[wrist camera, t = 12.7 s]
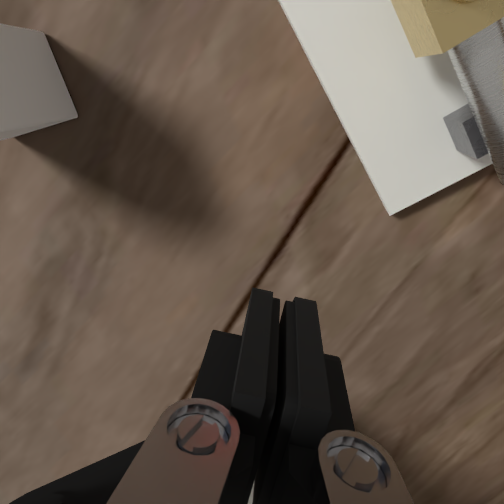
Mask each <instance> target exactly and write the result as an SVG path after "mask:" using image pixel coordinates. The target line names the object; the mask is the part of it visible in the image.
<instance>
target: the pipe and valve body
mask: <svg viewBox="0 0 504 504" xmlns="http://www.w3.org/2000/svg"><path fill="white" fill-rule="evenodd" d="M391 2H392V5H393V7H394V9H395V11H396V14H397V16H398V18H399V21H400V23H401V25H402V28H403V30H404V32H405V35H406V37H407V39H408V42H409V44H410V46H411V49H412V51H413V53H414V56H415V58H417V57H424V56H430V55H437V54H443V53H445V52H446V51H447V52H448V54H449V57H450V59H451V62H452V64H453V67H454V69H455V72H456V74H457V77H458V79H459V81H460V84H461V86H462V89H463V91H464V94H465V96H466V99H467V101H468V104H466V105H465V106H463V107H461V108H459V109H457V110H456V111H454V112H452V113H450V114H449V115H447V116H445V117H443V119H444V122H445V124H446V126H447V129H448V131H449V133H450V136H451V138H452V140H453V143H454V145H455V147H456V150H457V151H460V152H462V153H464V154H467V155H469V156H471V157H473V158H476V159H479V158H481V157H482V156H484V155H486V154H488V153H489V156H490V158H491V161H492V163H493V165H494V168H495V170H496V173H497V175H498V178H499V180H500V183H501V184H502V185H504V24H503V21H502V18H503V17H504V0H391Z"/></svg>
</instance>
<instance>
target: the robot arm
mask: <svg viewBox="0 0 504 504" xmlns="http://www.w3.org/2000/svg"><path fill="white" fill-rule="evenodd" d="M279 313H280V299H277V298H273V292H271V291H266V290H261V289H257V288H252V292H251V296H250V301H249V305H248V310H247V314H246V319H245V323H244V328H243V332H242V336H240V335H236V334H231V333H226V332H222V331H217V330H213V331H212V333H211V336H210V340H209V343H208V346H207V349H206V352H205V356H204V359H203V362H202V365H201V368H200V371H199V375H198V378H197V381H196V384H195V387H194V391H193V394H192V397H191V398H188V399H184V400H181V401H177V402H176V403H174V404H172V405H171V406H169V407H168V408H167V409H166V410H165V411H164V412H163V413H162V414H161V416H160V418H159V419H158V421H157V422H156V424H155V426H154V427H153V429H152V431H151V432H150V434H149V435H148V437H147V439H146V440H145V441H143V442H140V443H138V444H136V445H134V446H131V447H129V448H127V449H125V450H122V451H120V452H118V453H116V454H114V455H111V456H109V457H107V458H105V459H102V460H100V461H98V462H96V463H93V464H91V465H89V466H87V467H84V468H82V469H80V470H78V471H75V472H73V473H71V474H69V475H66V476H64V477H62V478H60V479H58V480H55V481H53V482H51V483H49V484H46V485H44V486H42V487H40V488H37V489H35V490H33V491H31V492H28V493H26V494H24V495H23V496H21V497H19V498H18V499H16V500H14V501H12V502H11V503H9V504H414V503H413V500H412V498H411V496H410V494H409V492H408V489H407V487H406V485H405V483H404V480H403V478H402V476H401V474H400V472H399V469H398V467H397V465H396V464H395V462H394V460H393V459H392V457H391V455H390V454H389V453H388V452H387V451H386V450H385V449H384V448H383V447H382V446H381V445H380V444H378V443H377V442H376V441H374V440H373V439H371V438H370V437H368V436H365V435H363V434H361V433H359V432H355V429H354V424H353V419H352V414H351V409H350V405H349V400H348V395H347V390H346V385H345V380H344V375H343V370H342V365H341V361H340V358H339V357H337V356H332V355H328V354H324V353H323V346H322V339H321V332H320V325H319V318H318V311H317V303H316V301H312V300H307V299H303V298H298V297H295V298H294V300H293V302H291V301H285V304H284V308H283V312H282V316H281V319H280V323H279Z"/></svg>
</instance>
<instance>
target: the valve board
mask: <svg viewBox="0 0 504 504" xmlns="http://www.w3.org/2000/svg"><path fill="white" fill-rule="evenodd" d="M278 1H279V3H280V5H281V7H282V9H283V11H284V13H285V15H286V17H287V19H288V21H289V23H290V25H291V27H292V29H293V31H294V33H295V34H296V36H297V38H298V40H299V42H300V44H301V46H302V48H303V50H304V52H305V54H306V56H307V58H308V60H309V62H310V64H311V66H312V68H313V69H314V71H315V73H316V75H317V77H318V79H319V81H320V83H321V85H322V87H323V89H324V91H325V93H326V95H327V97H328V99H329V101H330V102H331V104H332V106H333V108H334V110H335V112H336V114H337V116H338V118H339V120H340V122H341V124H342V126H343V128H344V130H345V132H346V134H347V135H348V137H349V139H350V141H351V143H352V145H353V147H354V149H355V151H356V153H357V155H358V157H359V159H360V161H361V163H362V165H363V167H364V168H365V170H366V172H367V174H368V176H369V178H370V180H371V182H372V184H373V186H374V188H375V190H376V192H377V194H378V196H379V198H380V200H381V202H382V203H383V205H384V207H385V209H386V211H387V212H388V214H389V215H390V216H391V215H393V214H395V213H396V212H398V211H400V210H402V209H404V208H406V207H408V206H410V205H412V204H414V203H416V202H418V201H420V200H422V199H424V198H426V197H428V196H430V195H432V194H434V193H436V192H438V191H440V190H442V189H444V188H445V187H447V186H449V185H451V184H453V183H455V182H457V181H459V180H461V179H463V178H465V177H467V176H469V175H471V174H473V173H475V172H477V171H479V170H481V169H483V168H485V167H487V166H489V165H491V164H493V163H492V161H491V158H490V156H489V153H488V154H486V155H484V156H482V157H481V158H479V159H476V158H473V157H471V156H469V155H467V154H464V153H462V152H460V151H457V150H456V147H455V145H454V143H453V140H452V138H451V136H450V133H449V131H448V129H447V126H446V124H445V122H444V119H443V117H445V116H447V115H449V114H450V113H452V112H454V111H456V110H457V109H459V108H461V107H463V106H465V105H466V104H468V101H467V99H466V96H465V94H464V91H463V89H462V86H461V84H460V81H459V79H458V77H457V74H456V72H455V69H454V67H453V64H452V62H451V59H450V57H449V54H448V52H447V51H446V52H445V53H443V54H437V55H430V56H424V57H417V58H415V56H414V53H413V51H412V49H411V46H410V44H409V42H408V39H407V37H406V35H405V32H404V30H403V28H402V25H401V23H400V21H399V18H398V16H397V14H396V11H395V9H394V7H393V5H392V2H391V0H278ZM502 21H503V24H504V17H503V18H502Z"/></svg>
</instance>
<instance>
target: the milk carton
mask: <svg viewBox="0 0 504 504" xmlns="http://www.w3.org/2000/svg"><path fill="white" fill-rule="evenodd" d="M77 117H78V114H77V112H76V109H75V107H74V104H73V102H72V99H71V97H70V94H69V92H68V90H67V87H66V85H65V82H64V80H63V77H62V75H61V73H60V70H59V68H58V65H57V63H56V61H55V58H54V56H53V53H52V51H51V48H50V46H49V44H48V41H47V39H46V36H45V34H44V33H43V32H42V31H37V30H32V29H27V28H21V27H16V26H11V25H5V24H0V140H4V139H9V138H13V137H16V136H19V135H23V134H26V133H29V132H32V131H36V130H39V129H42V128H45V127H49V126H52V125H55V124H59V123H62V122H65V121H68V120H72V119H75V118H77Z"/></svg>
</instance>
